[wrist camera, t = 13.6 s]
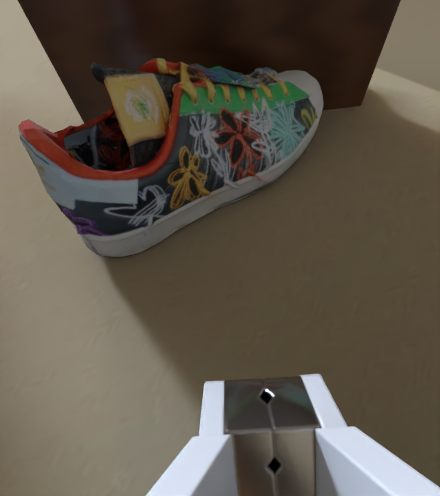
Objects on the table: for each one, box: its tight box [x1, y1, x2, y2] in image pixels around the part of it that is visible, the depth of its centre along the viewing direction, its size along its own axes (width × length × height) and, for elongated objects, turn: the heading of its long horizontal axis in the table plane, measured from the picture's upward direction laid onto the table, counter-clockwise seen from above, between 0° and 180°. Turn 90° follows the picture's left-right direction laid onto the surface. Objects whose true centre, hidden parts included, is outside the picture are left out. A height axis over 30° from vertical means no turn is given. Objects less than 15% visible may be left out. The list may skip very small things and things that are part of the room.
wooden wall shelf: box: [18, 0, 401, 124], centre depth 22 cm, size 27×5×13 cm, turn 93°
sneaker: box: [19, 58, 323, 257], centre depth 18 cm, size 8×21×10 cm, turn 129°
